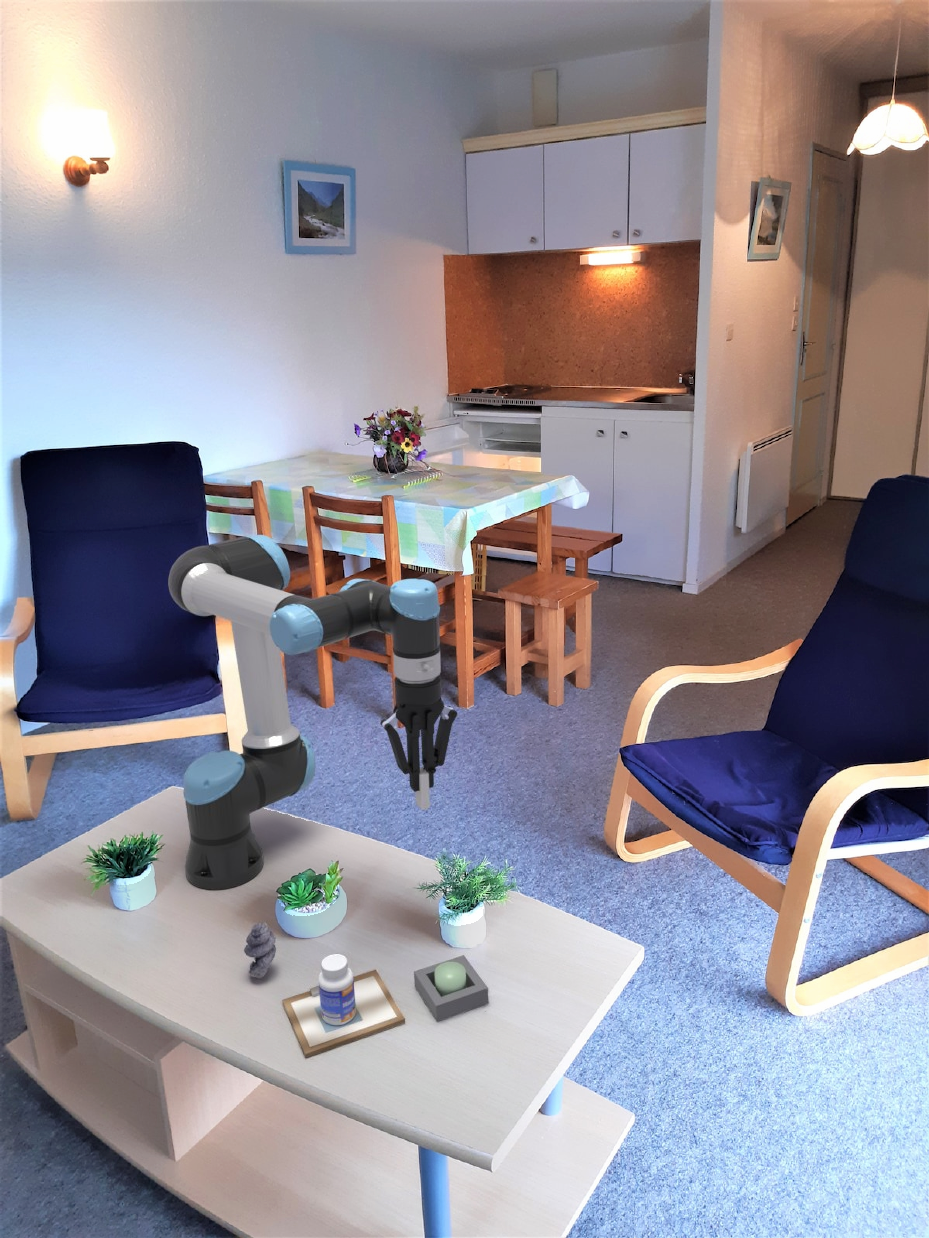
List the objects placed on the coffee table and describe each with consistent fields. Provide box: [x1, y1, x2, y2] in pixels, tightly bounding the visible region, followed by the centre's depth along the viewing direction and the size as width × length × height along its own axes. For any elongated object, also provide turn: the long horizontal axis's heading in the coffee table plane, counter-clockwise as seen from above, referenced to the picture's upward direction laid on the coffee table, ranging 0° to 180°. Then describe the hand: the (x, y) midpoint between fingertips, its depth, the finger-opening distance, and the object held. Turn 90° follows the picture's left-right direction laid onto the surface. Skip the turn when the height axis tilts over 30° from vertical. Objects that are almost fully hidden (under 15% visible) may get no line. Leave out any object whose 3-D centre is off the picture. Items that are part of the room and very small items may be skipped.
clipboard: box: [282, 969, 406, 1059], centre depth 150 cm, size 13×16×2 cm
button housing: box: [413, 954, 489, 1022], centre depth 153 cm, size 9×9×3 cm
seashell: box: [243, 922, 277, 980], centre depth 158 cm, size 5×5×10 cm
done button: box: [435, 962, 467, 997], centre depth 153 cm, size 5×5×4 cm
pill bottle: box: [317, 953, 356, 1025], centre depth 147 cm, size 5×5×10 cm
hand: (422, 805), depth 160 cm, fingers closed
